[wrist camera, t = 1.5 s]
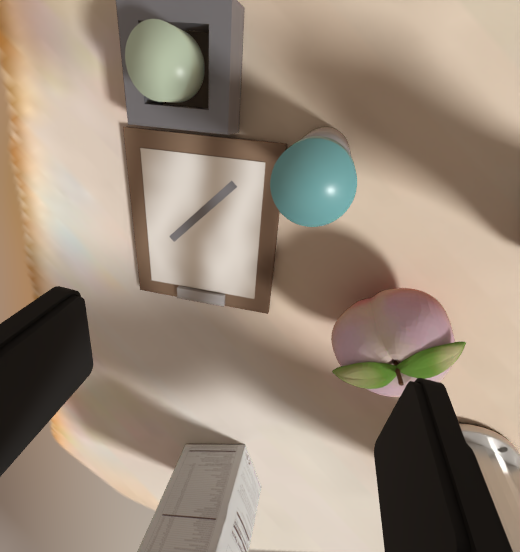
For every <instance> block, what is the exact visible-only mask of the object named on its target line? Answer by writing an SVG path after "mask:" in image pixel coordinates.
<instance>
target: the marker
mask: <svg viewBox="0 0 520 552" xmlns="http://www.w3.org/2000/svg"><path fill="white" fill-rule="evenodd" d="M356 188H357V175H356V170H355V166H354V162H353V160H352V157H351V153H350V148H349V144H348V142H347V140H346V138H345V136H344V135H343V134H342V133H341V132H339V131H338V130H336V129H334V128H330V127H320V128H317V129H314V130H313V131H311V132H310V133H308V134H307V135H306V136H305V137H303V138H302V139H301V140H299V141H298V142H296V143H295V144H293V145H292V146H291V147H289V148H288V149H287V150H286V151H284V152H283V153H282V154H281V156H280V157H279V158H278V160H277V161H276V163H275V165H274V168H273V170H272V174H271V179H270V189H271V195H272V198H273V201H274V203H275V205H276V207H277V208H278V210H279V211H280V212H281V213H282V215H284V216H285V217H286V218H287V219H289V220H290V221H292V222H294V223H296V224H299V225H302V226H307V227H318V226H323V225H326V224H329V223H331V222H333V221H335V220H337V219H338V218H339V217H341V216H342V215H343V214H344V213H345V212H346V211H347V209H348V208H349V207H350V205H351V203H352V201H353V199H354V197H355V193H356Z"/></svg>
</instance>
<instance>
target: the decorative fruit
mask: <svg viewBox="0 0 520 552" xmlns="http://www.w3.org/2000/svg"><path fill="white" fill-rule="evenodd" d="M331 340H332V346H333V350H334V353H335V356H336V358H337V360H338V362H339V364H340V366H341V367H338V368H336V369H335V370H333V371H332V372H333V373H334V374H335V375H336V376H337V377H338V378H340V379H341V380H343V381H345V382H346V383H349V384H351V385H353V386H356V387H360V388H366V389H367V390H369V391H371V392H374V393H376V394H380V395H384V396H390V397H400V396H401V394H402V393H403V391H404V389H405V387H406V385H407V384H408V382H409V381H413V382H415V380H416V379H417V378H424V379H427V380H431V381H435V382H440V381H441V380H442V379H443V378H444V376H445V375H446V374H447V373H448V371H449V370H450V368H451V366H452V365H453V364H454V362H455V361H456V360H457V359H458V358H459V356H460V355H461V353H462V351H463V349H464V346H465V344H466V343H465V342H455V340H454V335H453V330H452V327H451V323H450V320H449V318H448V316H447V313H446V311H445V310H444V308H443V307H442V305H441V304H440V303H439V302H438V301H437V300H436V299H435V298H434V297H432V296H431V295H429V294H427V293H425V292H422V291H419V290H415V289H407V288H399V289H388V290H384V291H381V292H379V293H377V294H376V295H375V296H373V297H372V298H368V299H363V300H360V301H358V302H356V303H355V304H353V305H352V306H351V307H350V308H348V309H347V310H346V311H345V312H344V313H343V314H342V315H341V316H340V317H339V319H338V320H337V322H336V323H335V325H334V328H333V330H332V339H331Z"/></svg>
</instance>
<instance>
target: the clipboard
mask: <svg viewBox="0 0 520 552" xmlns="http://www.w3.org/2000/svg"><path fill="white" fill-rule="evenodd" d="M123 132H124V141H125V150H126V160H127V169H128V179H129V188H130V198H131V207H132V217H133V226H134V235H135V245H136V254H137V264H138V273H139V283H140V290H144V291H150V292H155V293H160V294H166V295H171V296H176V297H177V298H181V299H186V300H191V301H197V302H202V303H207V304H213V305H218V306H223V307H224V306H230V307H235V308H240V309H246V310H251V311H256V312H262V313H267V314H268V312H269V305H270V296H271V287H272V277H273V268H274V259H275V250H276V240H277V231H278V222H279V213H280V211H279V210H278V208H277V207H276V205H275V203H274V201H273V198H272V195H271V189H270V179H271V174H272V170H273V168H274V165H275V163H276V161H277V160H278V158H279V157H280V156H281V154H282V153H283V152H284V151H286V148H287V144H283V143H274V142H265V141H255V140H246V139H237V138H227V137H218V136H209V135H199V134H190V133H180V132H171V131H162V130H152V129H143V128H134V127H123Z"/></svg>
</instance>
